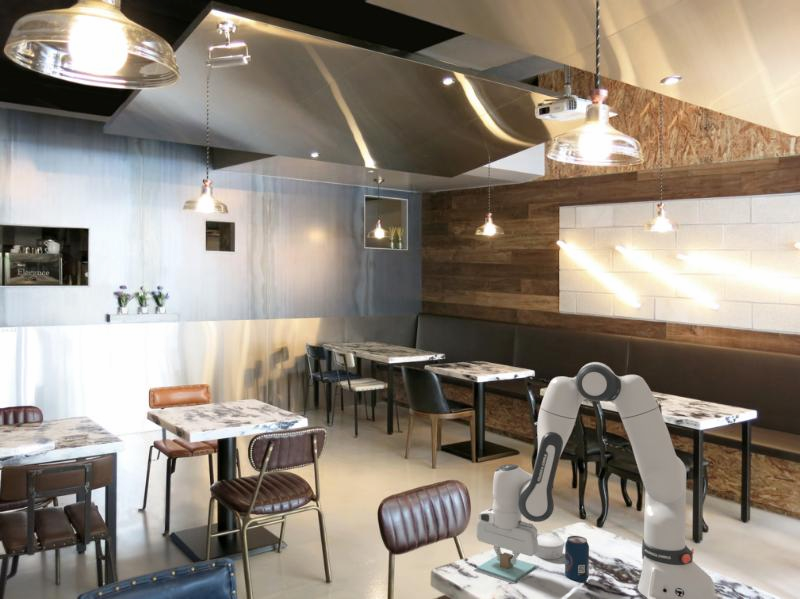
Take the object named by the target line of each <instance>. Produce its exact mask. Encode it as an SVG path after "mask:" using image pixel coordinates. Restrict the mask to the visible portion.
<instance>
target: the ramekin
mask: <svg viewBox="0 0 800 599" xmlns="http://www.w3.org/2000/svg"><path fill="white" fill-rule="evenodd" d="M537 540H538V552H537V553H536V554H535V555H534V556H535V557H537V558H539V559H544V560H555V559H560V558H562V556H563V552H564V548H565V540H564V538H561V537H560V536H558V535H554V534H548V533H547V534H546V533H539V534H538V533H537Z"/></svg>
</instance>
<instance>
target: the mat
mask: <svg viewBox="0 0 800 599" xmlns="http://www.w3.org/2000/svg"><path fill="white" fill-rule="evenodd" d="M516 560H519V559H518V558H516ZM519 561H521V560H519ZM522 561H523V562H526V561H524V560H522ZM526 563H529V564H531V563H530V562H526ZM532 564H533V563H532ZM533 565H536V564H533ZM539 567H540V565H536V567H535V568H534V569H532V570H531V571H529V572H528V573H526V574H525V575H523V576H522V577H520V578H519V579H518V580H516V581H515V582H514V581H511V580H508V579H505V578H502V577H499V576H496V575H493V574H490V573H487V572H484V571H481V570H478V569H477V567H476V568H475V569H473V572H476V573H479V574H483V575H486V576H488V577H491V578H494V579H498V580H499V581H500V580H501V581H503V582H506V583H509V584H513V585H514V584H515V583H517V582H518V581H520V580H522V579H523V578H525V576H527V575H529V574H530V573H531V572H533V571H535V570H536V569H538V568H539Z"/></svg>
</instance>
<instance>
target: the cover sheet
mask: <svg viewBox="0 0 800 599" xmlns="http://www.w3.org/2000/svg"><path fill="white" fill-rule="evenodd" d="M513 556H514V554H513V553H512V554H511V553H508V552H503V553H502V554H501V555H500V561H499V560H497V555H496V556H494V557H493V558H491V559H489V560H488V561H486V562H484V563H482V564H480V565H479V566H477V567H476V568H477V569H478V570H481V571H484V572H487V573H490V574H493V575H496V576H499V577H502V578H505V579H508V580H511V581H514V582H515V581H516V580H518V579H519V578H520V577H522V576H523V575H525V574H526V573H528V572H529V571H531V570H532V569H534V568H535V567H536V564H534V565H533V563H530V562H527V563H526V561H524V560H520V561H519V559H517V560H516V564H515V565H512V564H510V563H509V562H510V561H509V559H510V558H511V557H513ZM523 561H524V562H523ZM529 563H530V564H529ZM518 581H519V580H518ZM515 583H516V582H515Z"/></svg>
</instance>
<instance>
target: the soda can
mask: <svg viewBox="0 0 800 599" xmlns="http://www.w3.org/2000/svg"><path fill="white" fill-rule="evenodd" d="M564 548H565V549H564V550H565V552H564V574H565V577H566V578H567V579H569V580H571V581H576V582H579V584H582V583H585V582H586V581H587V580H588V579H589V577H590V572H589V571H590V546H589V544H588V539H587V538H586V537H583V536H580V535H570V536H568V537H567V539H566V542H564Z"/></svg>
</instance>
